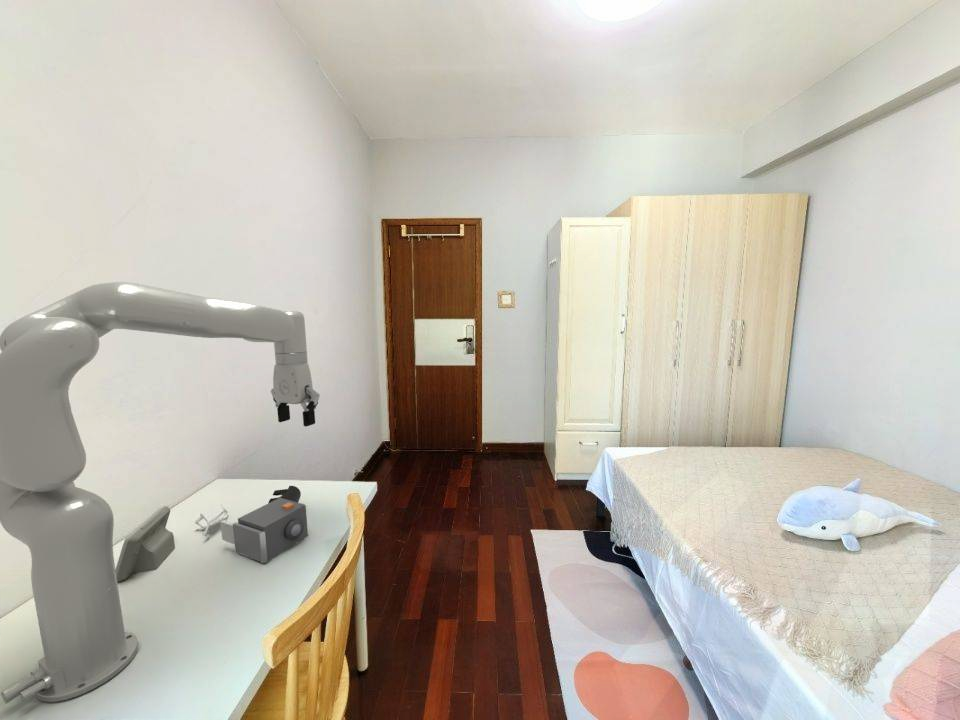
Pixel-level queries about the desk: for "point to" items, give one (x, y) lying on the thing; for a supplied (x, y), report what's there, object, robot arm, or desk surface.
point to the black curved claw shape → (288, 494)
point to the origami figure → (211, 517)
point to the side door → (245, 540)
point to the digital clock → (146, 545)
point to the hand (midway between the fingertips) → (296, 422)
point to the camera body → (279, 524)
